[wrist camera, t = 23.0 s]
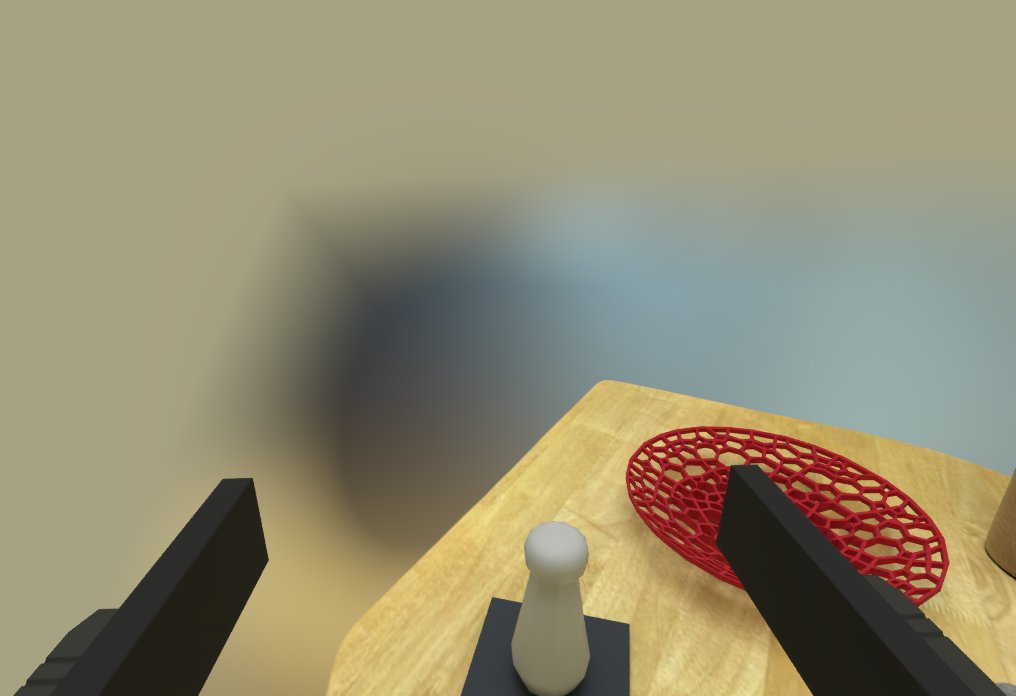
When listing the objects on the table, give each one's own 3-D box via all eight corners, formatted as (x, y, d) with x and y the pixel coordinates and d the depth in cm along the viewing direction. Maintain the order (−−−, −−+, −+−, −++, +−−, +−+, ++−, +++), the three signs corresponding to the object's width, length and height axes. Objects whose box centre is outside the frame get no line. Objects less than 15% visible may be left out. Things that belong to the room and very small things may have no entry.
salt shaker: (495, 681, 37) (495, 541, 32) (536, 627, 41) (541, 497, 37) (564, 730, 34) (575, 583, 29) (600, 666, 38) (614, 529, 34)
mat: (447, 747, 34) (447, 737, 33) (492, 605, 45) (492, 596, 44) (628, 796, 31) (629, 785, 31) (628, 632, 42) (629, 623, 42)
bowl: (1023, 631, 43) (1045, 585, 41) (709, 684, 38) (719, 636, 36) (787, 450, 70) (794, 418, 68) (587, 468, 65) (590, 434, 63)
